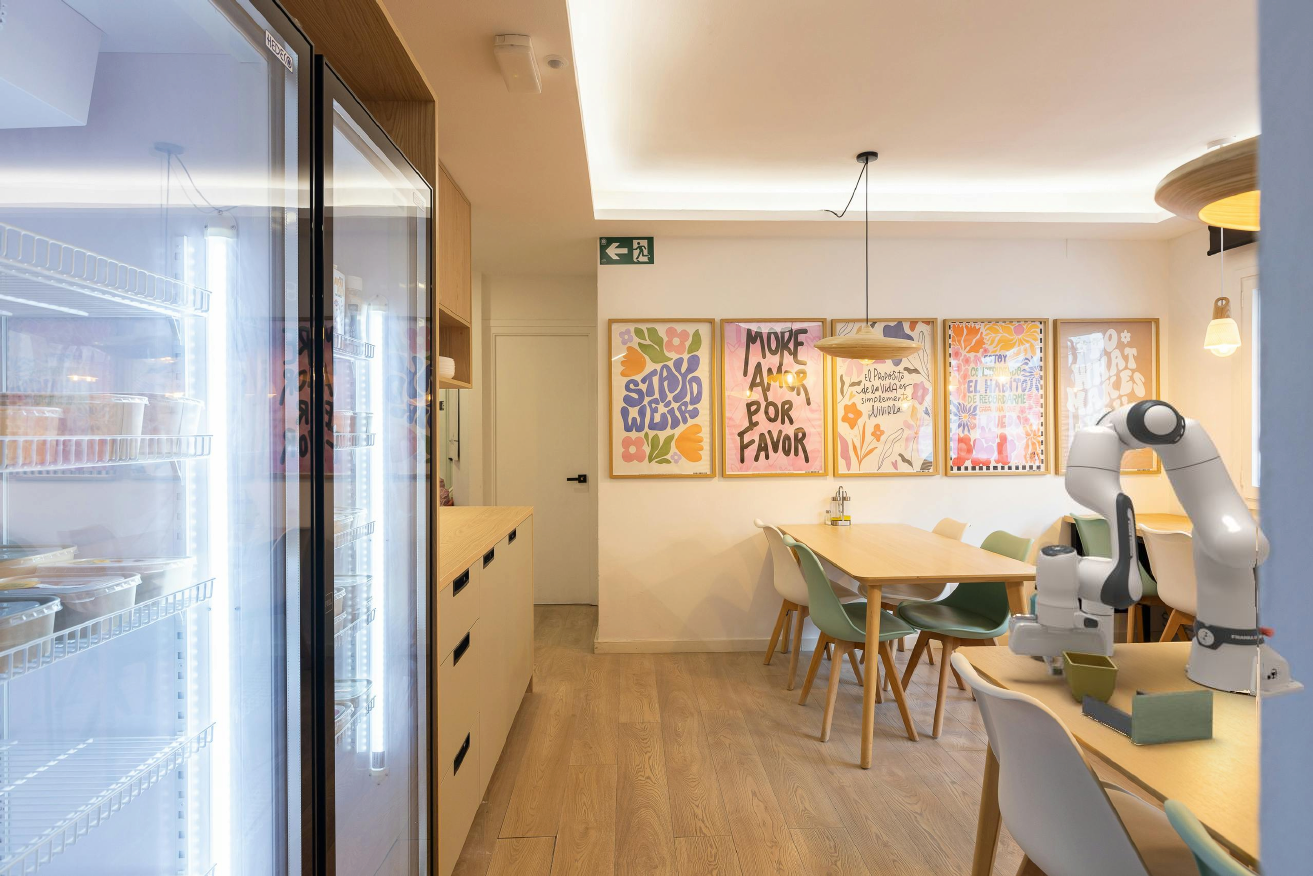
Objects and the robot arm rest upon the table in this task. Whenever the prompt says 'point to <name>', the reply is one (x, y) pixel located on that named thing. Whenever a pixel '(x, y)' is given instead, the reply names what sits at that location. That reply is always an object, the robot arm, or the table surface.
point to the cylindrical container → (1102, 613)
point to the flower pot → (1090, 675)
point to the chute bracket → (1158, 716)
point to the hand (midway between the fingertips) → (1056, 675)
